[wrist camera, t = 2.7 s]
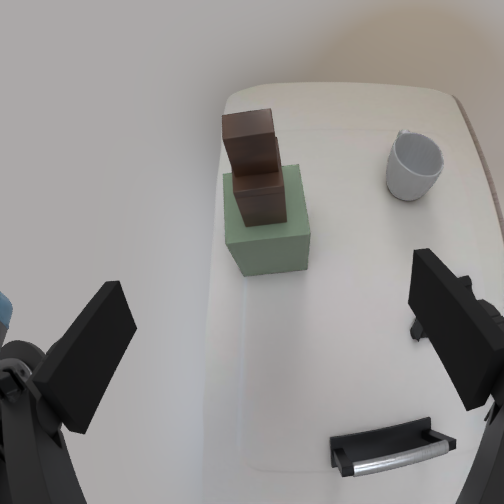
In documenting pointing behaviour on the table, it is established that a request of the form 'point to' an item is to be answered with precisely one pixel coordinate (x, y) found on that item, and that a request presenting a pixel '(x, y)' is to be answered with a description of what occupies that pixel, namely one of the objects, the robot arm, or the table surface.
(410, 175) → the mug
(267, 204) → the brown arch stand
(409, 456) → the rail stand
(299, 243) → the plinth
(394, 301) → the table surface
